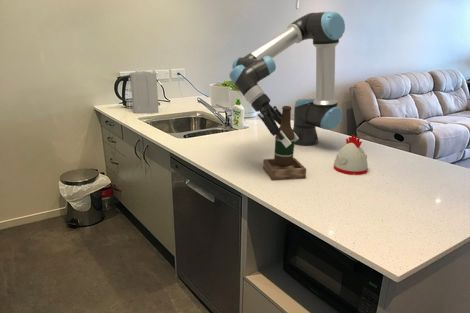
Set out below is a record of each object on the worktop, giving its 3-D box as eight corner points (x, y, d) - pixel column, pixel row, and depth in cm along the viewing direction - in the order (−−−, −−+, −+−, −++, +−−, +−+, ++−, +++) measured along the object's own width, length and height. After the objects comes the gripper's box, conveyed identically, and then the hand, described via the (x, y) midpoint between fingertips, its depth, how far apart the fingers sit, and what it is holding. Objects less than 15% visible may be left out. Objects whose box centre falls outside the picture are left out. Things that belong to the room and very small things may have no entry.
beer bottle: (294, 162, 152) (298, 105, 144) (290, 168, 145) (295, 109, 137) (276, 159, 154) (279, 104, 146) (271, 165, 147) (274, 107, 139)
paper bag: (128, 111, 266) (124, 72, 257) (146, 108, 276) (143, 71, 266) (140, 115, 253) (137, 74, 244) (159, 112, 262) (156, 73, 253)
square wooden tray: (293, 166, 158) (294, 157, 157) (305, 178, 145) (306, 168, 144) (263, 168, 156) (263, 159, 155) (272, 180, 143) (272, 170, 142)
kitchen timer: (349, 177, 147) (353, 141, 142) (326, 166, 159) (330, 133, 154) (374, 171, 153) (379, 137, 148) (350, 162, 165) (354, 130, 160)
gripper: (262, 101, 157) (295, 142, 155) (239, 108, 140) (276, 155, 138) (274, 89, 153) (307, 132, 151) (252, 96, 136) (290, 143, 134)
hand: (292, 143), depth 145 cm, fingers closed on beer bottle, 8 cm apart
